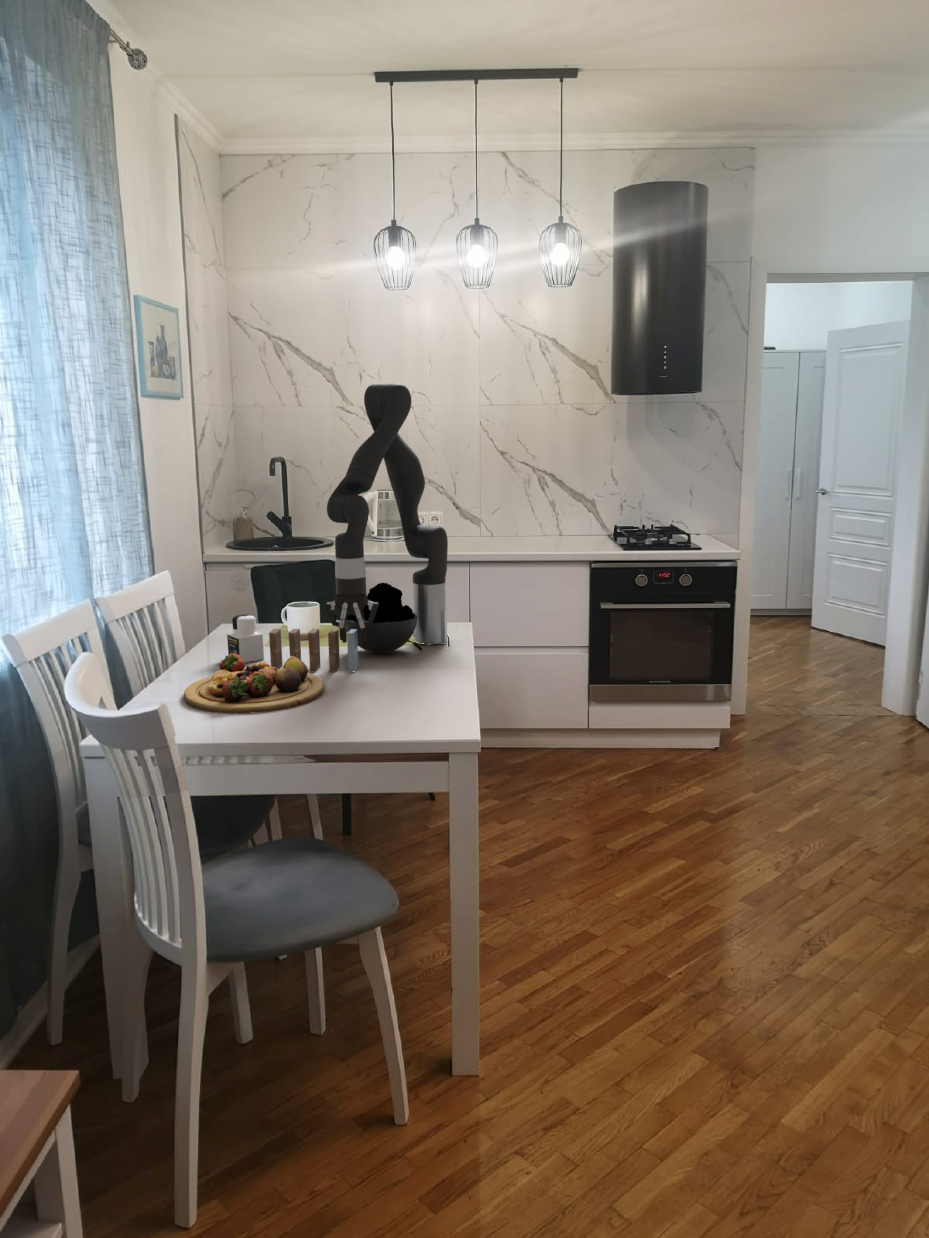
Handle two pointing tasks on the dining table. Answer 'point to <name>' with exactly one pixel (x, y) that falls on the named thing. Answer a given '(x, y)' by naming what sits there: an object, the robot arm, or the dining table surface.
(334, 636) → the tile
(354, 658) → the tile
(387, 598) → the bowl of black rocks
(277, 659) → the brown wooden block
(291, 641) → the tile
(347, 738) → the dining table surface
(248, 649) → the medicine bottle
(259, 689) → the wooden plate with food
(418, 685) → the dining table surface
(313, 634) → the tile
